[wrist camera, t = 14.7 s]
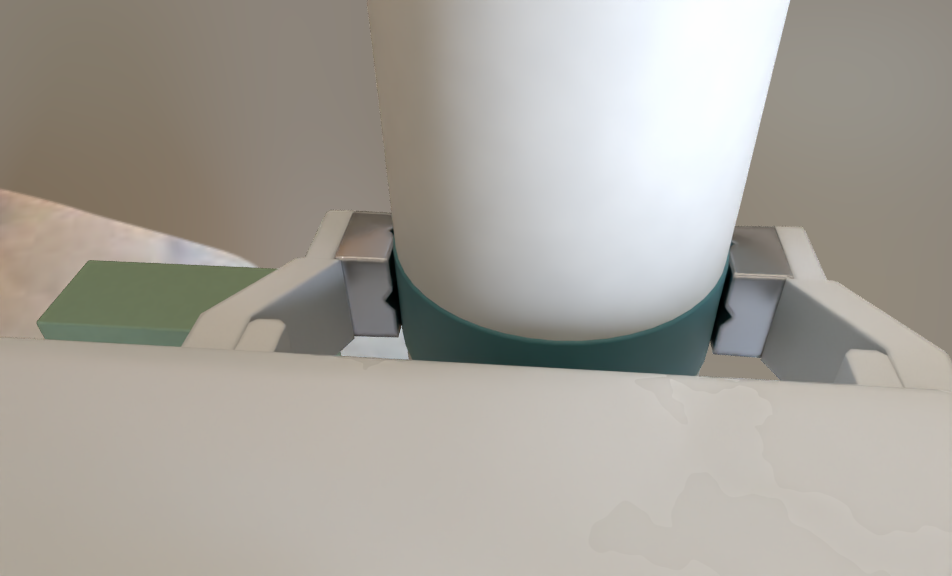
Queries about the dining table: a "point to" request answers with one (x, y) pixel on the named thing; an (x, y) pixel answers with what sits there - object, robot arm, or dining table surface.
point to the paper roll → (568, 173)
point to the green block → (140, 301)
